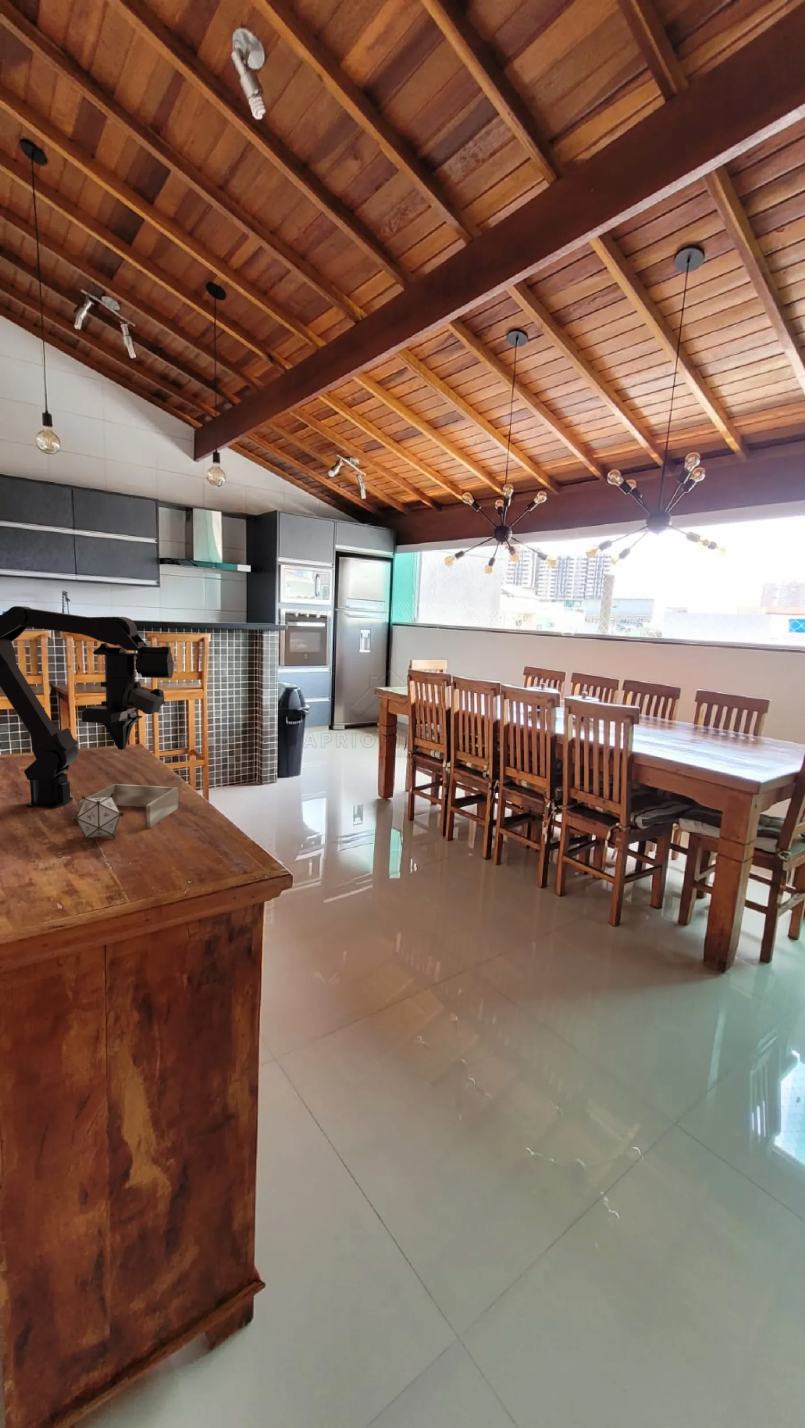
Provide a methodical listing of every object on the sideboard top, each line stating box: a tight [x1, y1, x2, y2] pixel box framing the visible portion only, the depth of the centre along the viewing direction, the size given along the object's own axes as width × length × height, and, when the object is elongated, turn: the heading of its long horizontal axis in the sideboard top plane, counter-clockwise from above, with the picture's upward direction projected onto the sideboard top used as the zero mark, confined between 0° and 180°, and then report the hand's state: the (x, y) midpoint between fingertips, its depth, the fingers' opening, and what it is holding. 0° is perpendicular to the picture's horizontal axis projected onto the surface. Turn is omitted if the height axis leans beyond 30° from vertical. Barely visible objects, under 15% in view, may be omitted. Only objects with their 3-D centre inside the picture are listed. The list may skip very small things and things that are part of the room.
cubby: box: [78, 783, 179, 829], centre depth 119 cm, size 14×13×4 cm
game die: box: [71, 793, 126, 843], centre depth 106 cm, size 9×8×10 cm
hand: (121, 749), depth 125 cm, fingers closed
